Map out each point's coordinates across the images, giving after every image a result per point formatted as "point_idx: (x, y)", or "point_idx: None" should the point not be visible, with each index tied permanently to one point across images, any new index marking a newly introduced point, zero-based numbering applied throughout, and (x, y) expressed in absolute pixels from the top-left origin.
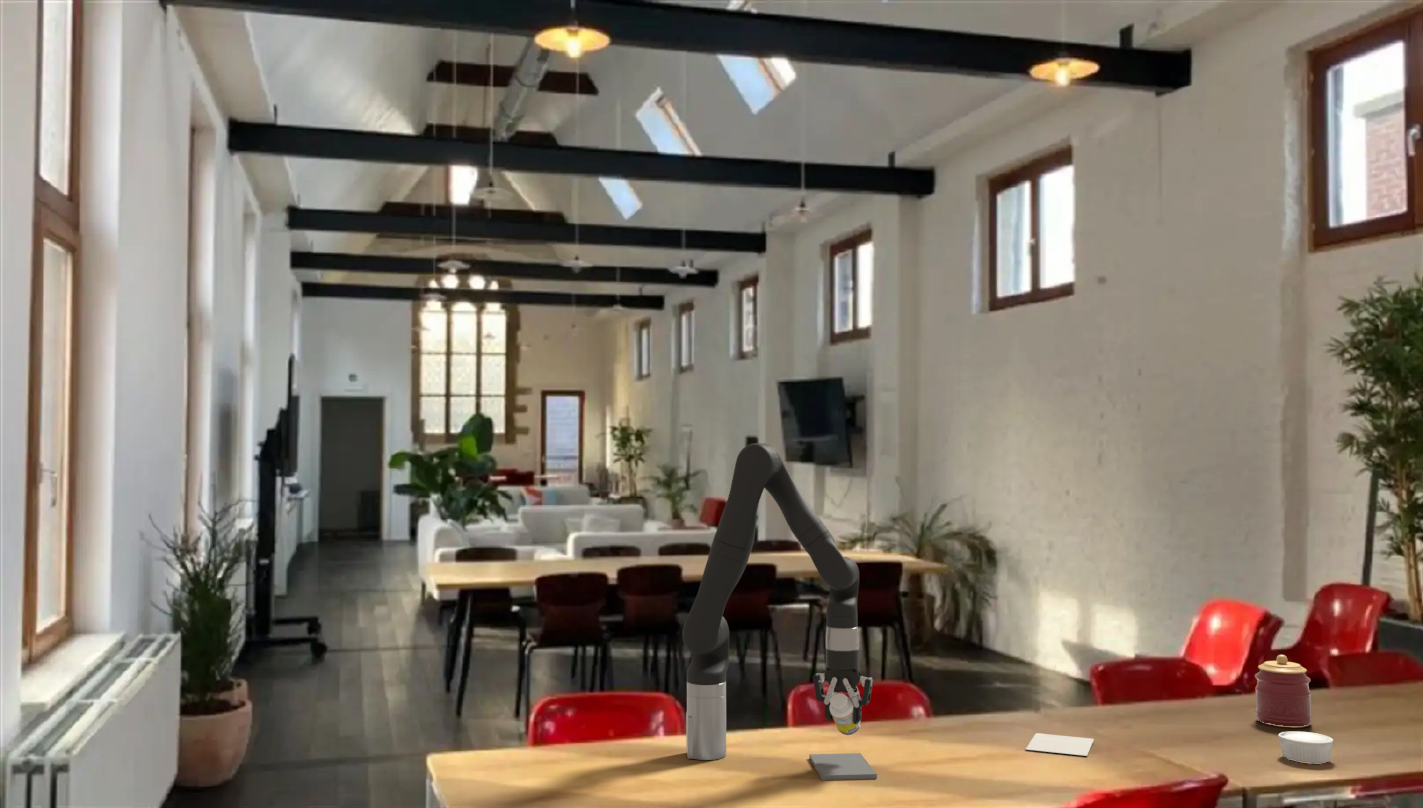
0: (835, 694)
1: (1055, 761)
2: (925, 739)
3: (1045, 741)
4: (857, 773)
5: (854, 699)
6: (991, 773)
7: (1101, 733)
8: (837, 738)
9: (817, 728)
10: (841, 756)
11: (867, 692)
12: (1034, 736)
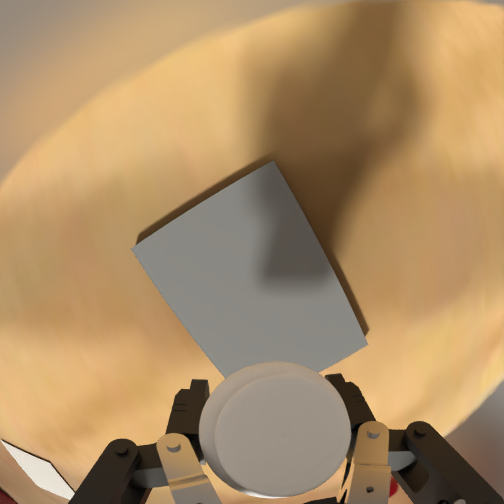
0: (325, 477)
1: (4, 424)
2: None
3: (58, 484)
4: (181, 229)
5: (183, 470)
6: (6, 362)
7: (50, 499)
8: None
9: None
10: None
11: (81, 493)
12: None
